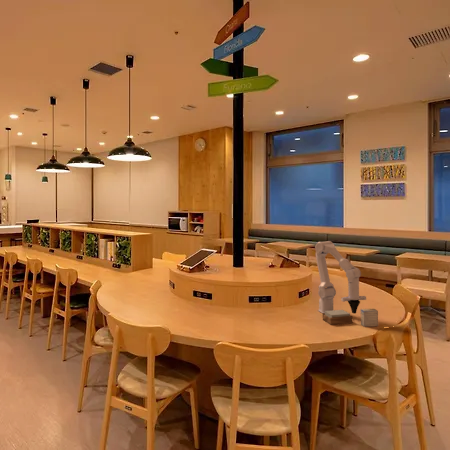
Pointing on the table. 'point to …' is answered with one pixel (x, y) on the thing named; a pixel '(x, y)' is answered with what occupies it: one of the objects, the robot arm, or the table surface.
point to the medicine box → (369, 317)
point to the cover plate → (336, 313)
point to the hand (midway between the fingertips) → (354, 313)
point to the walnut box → (337, 320)
